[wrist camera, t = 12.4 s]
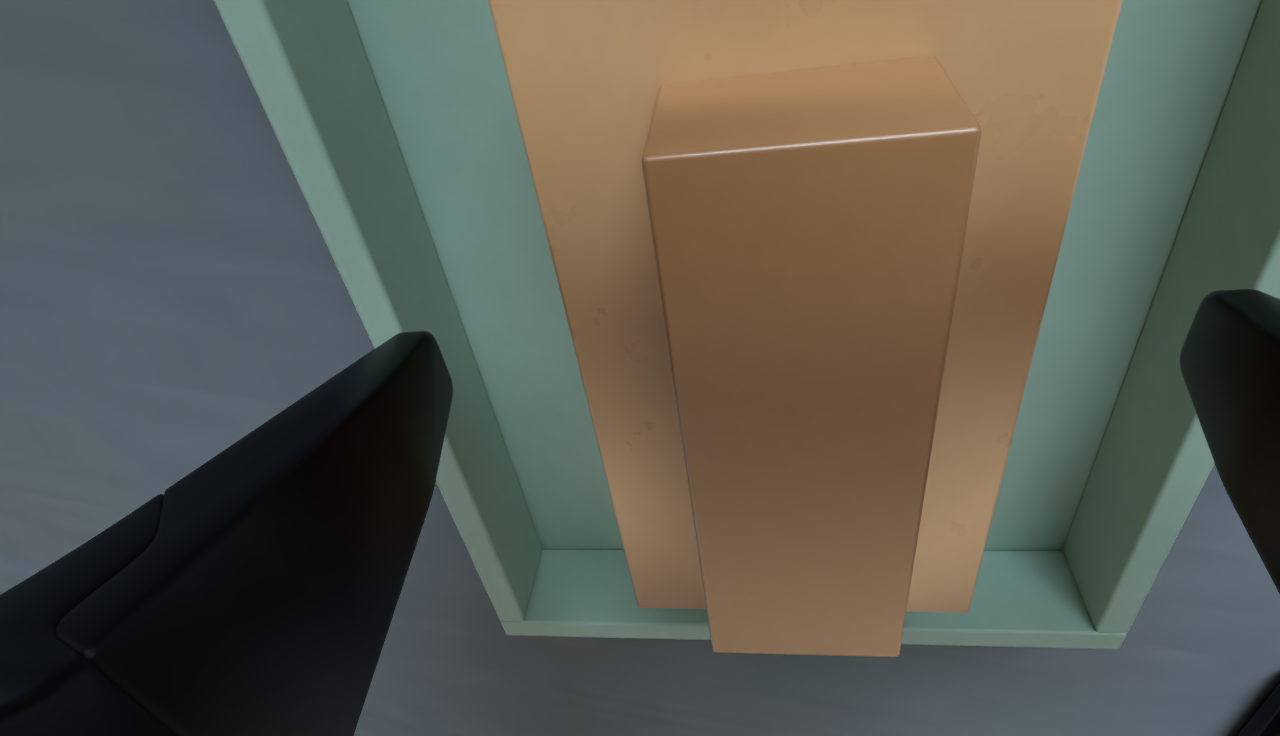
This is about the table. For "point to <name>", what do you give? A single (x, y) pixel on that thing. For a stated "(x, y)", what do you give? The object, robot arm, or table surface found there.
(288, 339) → the table surface
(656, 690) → the table surface
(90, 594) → the robot arm
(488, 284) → the tray
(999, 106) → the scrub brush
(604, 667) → the table surface
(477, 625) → the table surface
